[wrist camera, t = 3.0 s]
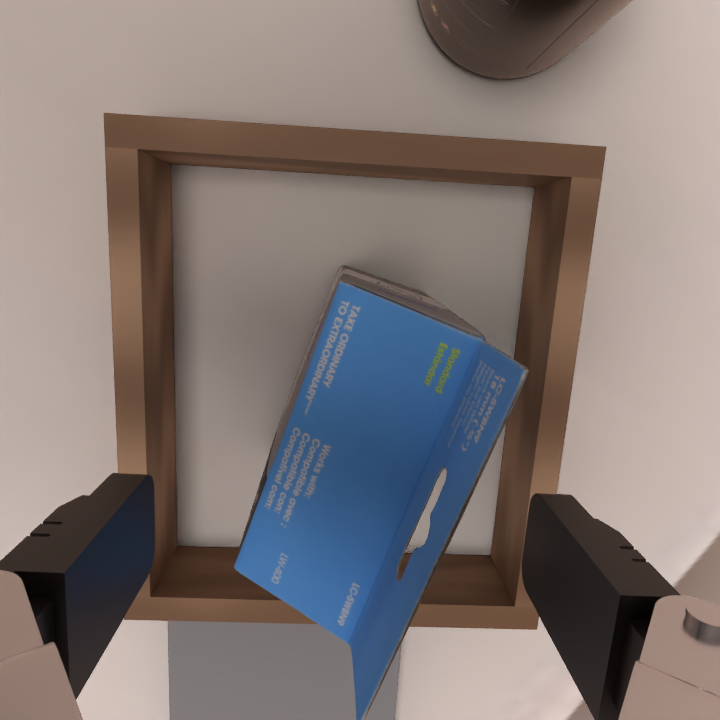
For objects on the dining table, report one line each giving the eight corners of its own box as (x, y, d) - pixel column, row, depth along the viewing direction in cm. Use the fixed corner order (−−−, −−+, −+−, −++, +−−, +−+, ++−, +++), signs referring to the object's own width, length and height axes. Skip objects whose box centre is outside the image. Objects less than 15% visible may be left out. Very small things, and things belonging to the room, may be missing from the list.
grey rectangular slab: (177, 586, 24) (167, 608, 23) (399, 592, 25) (403, 614, 23) (181, 801, 27) (172, 834, 26) (382, 803, 27) (384, 835, 26)
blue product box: (338, 258, 22) (339, 282, 10) (429, 293, 22) (537, 358, 10) (265, 456, 23) (187, 687, 11) (350, 485, 24) (362, 736, 12)
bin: (143, 134, 20) (103, 112, 17) (563, 161, 21) (606, 146, 18) (154, 566, 24) (124, 619, 21) (509, 576, 25) (537, 629, 22)
